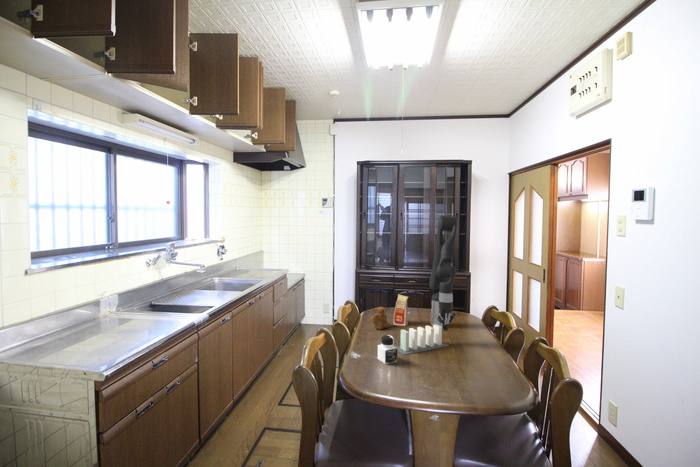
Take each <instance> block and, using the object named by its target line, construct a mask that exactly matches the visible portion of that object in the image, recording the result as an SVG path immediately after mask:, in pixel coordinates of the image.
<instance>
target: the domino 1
mask: <svg viewBox="0 0 700 467" xmlns="http://www.w3.org/2000/svg"><path fill="white" fill-rule="evenodd" d="M399 346H400V348H401V349H403V350H404V351H409V330H406V329H400V345H399Z"/></svg>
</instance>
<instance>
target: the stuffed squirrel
mask: <svg viewBox="0 0 700 467" xmlns="http://www.w3.org/2000/svg"><path fill="white" fill-rule="evenodd" d="M374 309H375V311H376V313H374V314H373V315H372V316H371V317H370V321H371V322H372V323H373V324H374V328H375V329H376V330H383V329H388V328H389V327H391V323H390V322H388V320H387V314H385V313H386V310H385V309H386V308H385V307H383V306H379V307H375V308H374Z"/></svg>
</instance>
